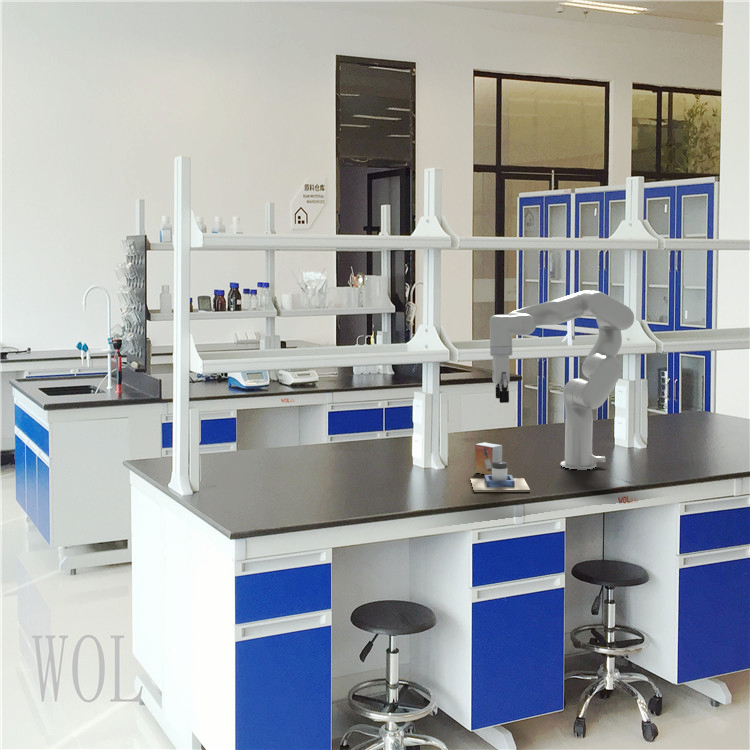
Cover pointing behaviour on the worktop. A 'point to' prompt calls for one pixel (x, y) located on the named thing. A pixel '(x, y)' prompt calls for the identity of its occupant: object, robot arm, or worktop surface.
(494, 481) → the mount plate
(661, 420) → the worktop surface
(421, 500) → the worktop surface
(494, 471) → the gray domed white cylinder
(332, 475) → the worktop surface
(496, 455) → the small box
